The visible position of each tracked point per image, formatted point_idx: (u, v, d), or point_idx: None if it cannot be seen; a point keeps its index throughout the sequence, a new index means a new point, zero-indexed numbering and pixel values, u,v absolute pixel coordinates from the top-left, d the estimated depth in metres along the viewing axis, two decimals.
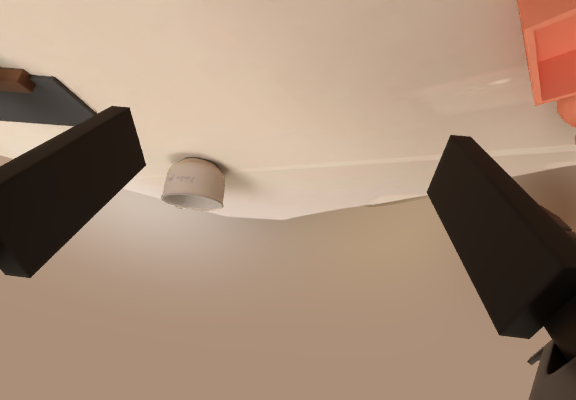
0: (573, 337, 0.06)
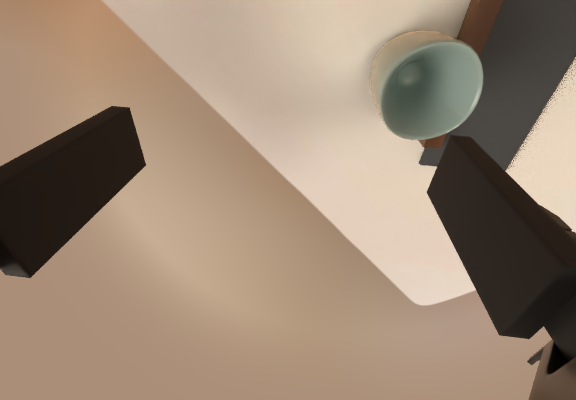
0: (573, 337, 0.06)
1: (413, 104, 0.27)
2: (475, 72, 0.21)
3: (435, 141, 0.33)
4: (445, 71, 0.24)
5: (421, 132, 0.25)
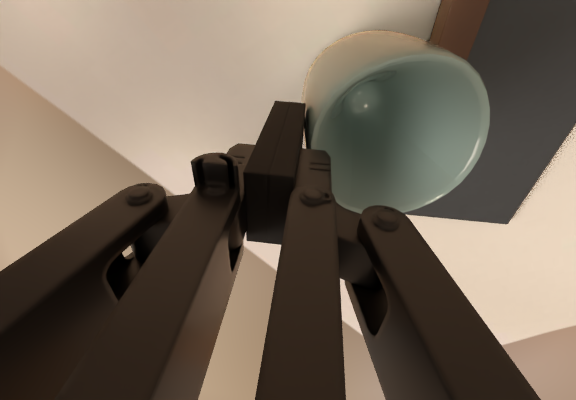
0: None
1: (372, 149, 0.17)
2: (475, 105, 0.11)
3: None
4: (419, 99, 0.14)
5: (388, 202, 0.15)
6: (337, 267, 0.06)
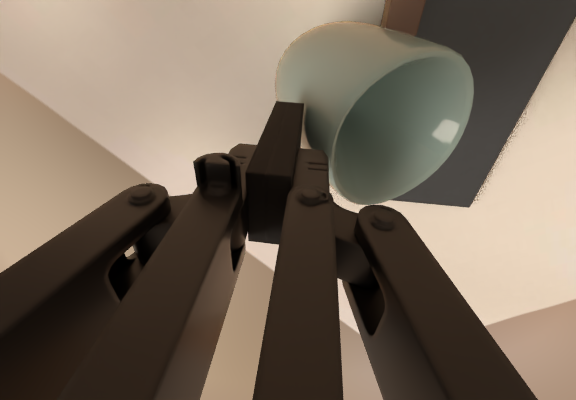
0: None
1: (357, 138, 0.17)
2: (461, 91, 0.13)
3: None
4: (399, 87, 0.15)
5: (388, 187, 0.16)
6: (335, 267, 0.06)
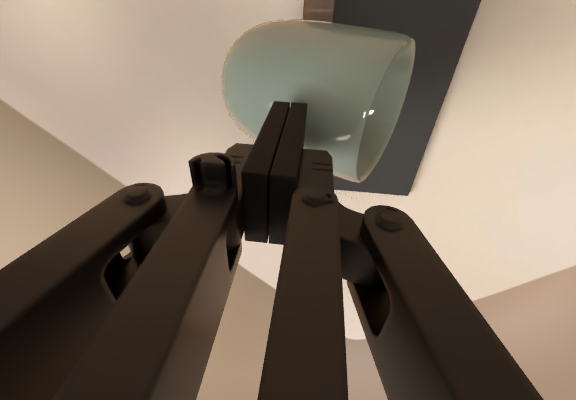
0: None
1: None
2: (405, 69, 0.16)
3: None
4: None
5: (366, 161, 0.18)
6: (339, 268, 0.06)
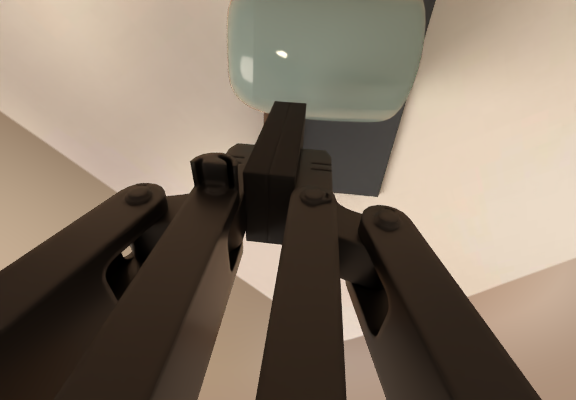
0: None
1: None
2: None
3: None
4: None
5: None
6: (338, 267, 0.06)
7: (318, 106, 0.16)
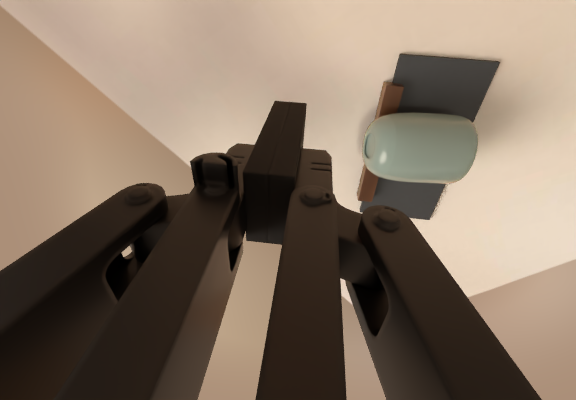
0: None
1: None
2: None
3: (367, 196, 0.40)
4: None
5: None
6: (338, 267, 0.06)
7: (419, 179, 0.30)
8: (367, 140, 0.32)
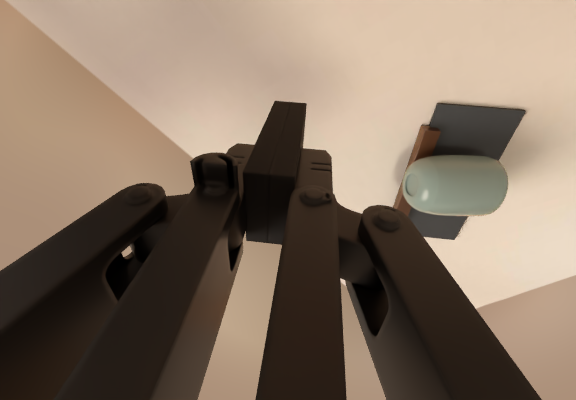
0: None
1: None
2: None
3: None
4: None
5: None
6: (338, 267, 0.06)
7: (455, 214, 0.35)
8: (408, 178, 0.37)
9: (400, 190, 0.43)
